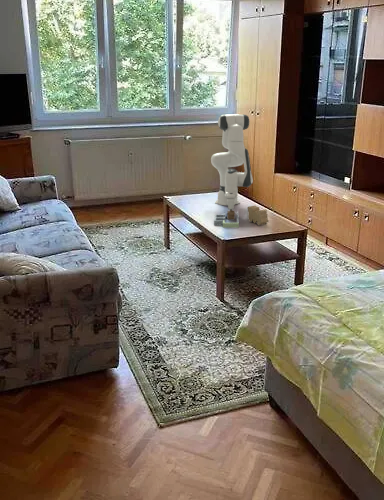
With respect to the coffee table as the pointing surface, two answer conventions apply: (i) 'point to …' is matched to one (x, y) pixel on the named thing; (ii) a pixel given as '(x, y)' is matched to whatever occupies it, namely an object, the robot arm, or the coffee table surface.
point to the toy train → (257, 215)
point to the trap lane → (220, 220)
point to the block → (230, 214)
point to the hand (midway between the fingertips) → (231, 212)
